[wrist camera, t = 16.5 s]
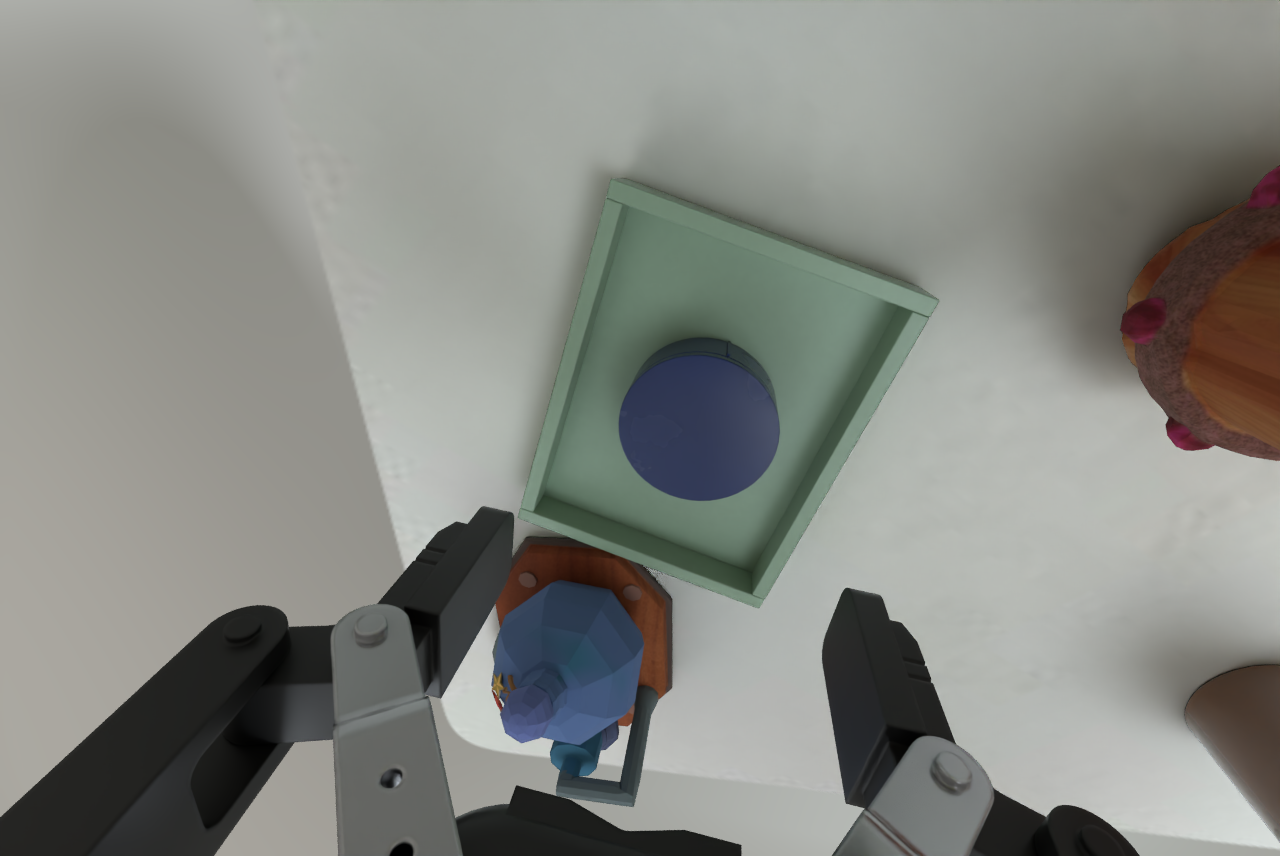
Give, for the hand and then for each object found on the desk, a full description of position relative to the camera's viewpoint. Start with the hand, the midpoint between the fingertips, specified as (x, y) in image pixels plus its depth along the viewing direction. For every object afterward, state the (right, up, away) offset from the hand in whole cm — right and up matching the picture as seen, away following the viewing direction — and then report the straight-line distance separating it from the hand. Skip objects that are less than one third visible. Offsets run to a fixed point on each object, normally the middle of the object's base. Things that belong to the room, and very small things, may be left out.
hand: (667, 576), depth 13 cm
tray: (+2, +5, +9) cm, 11 cm away
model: (-4, -7, +16) cm, 18 cm away
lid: (+1, +4, +7) cm, 8 cm away
